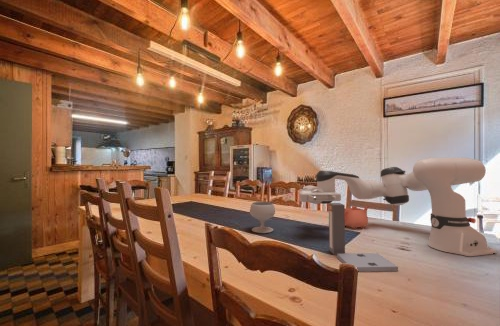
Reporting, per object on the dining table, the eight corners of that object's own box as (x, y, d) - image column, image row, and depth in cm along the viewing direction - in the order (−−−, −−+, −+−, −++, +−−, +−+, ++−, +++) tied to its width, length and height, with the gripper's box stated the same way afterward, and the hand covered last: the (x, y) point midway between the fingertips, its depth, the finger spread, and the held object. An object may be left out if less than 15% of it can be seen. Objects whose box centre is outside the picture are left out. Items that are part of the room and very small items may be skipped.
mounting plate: (377, 256, 89) (377, 252, 89) (398, 271, 77) (398, 266, 77) (337, 257, 89) (337, 253, 89) (351, 271, 77) (351, 267, 77)
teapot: (349, 231, 124) (348, 209, 124) (334, 225, 135) (334, 205, 135) (377, 227, 130) (377, 206, 130) (361, 223, 141) (360, 203, 142)
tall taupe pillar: (339, 250, 96) (339, 202, 97) (344, 254, 92) (344, 205, 92) (328, 250, 96) (328, 203, 97) (333, 254, 91) (332, 205, 92)
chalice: (267, 226, 135) (267, 200, 136) (280, 232, 123) (279, 204, 123) (246, 228, 130) (245, 202, 130) (256, 235, 117) (256, 206, 117)
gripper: (334, 201, 120) (346, 205, 107) (296, 201, 120) (303, 205, 106) (334, 189, 121) (346, 192, 107) (296, 189, 120) (303, 192, 106)
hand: (324, 198), depth 106 cm, fingers open, 8 cm apart
